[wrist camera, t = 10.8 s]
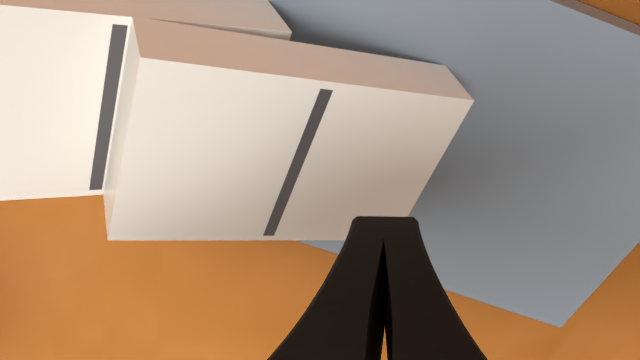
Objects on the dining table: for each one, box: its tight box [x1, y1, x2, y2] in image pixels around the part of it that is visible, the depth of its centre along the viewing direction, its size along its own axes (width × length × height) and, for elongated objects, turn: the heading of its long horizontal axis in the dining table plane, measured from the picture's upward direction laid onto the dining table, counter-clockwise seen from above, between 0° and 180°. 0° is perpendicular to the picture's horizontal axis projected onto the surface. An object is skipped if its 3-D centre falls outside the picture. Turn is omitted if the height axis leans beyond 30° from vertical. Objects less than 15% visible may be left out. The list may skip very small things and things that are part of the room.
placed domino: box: [103, 16, 474, 240], centre depth 15 cm, size 2×5×8 cm
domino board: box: [268, 0, 640, 328], centre depth 17 cm, size 30×10×1 cm, turn 71°
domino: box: [0, 0, 292, 201], centre depth 14 cm, size 2×5×8 cm
